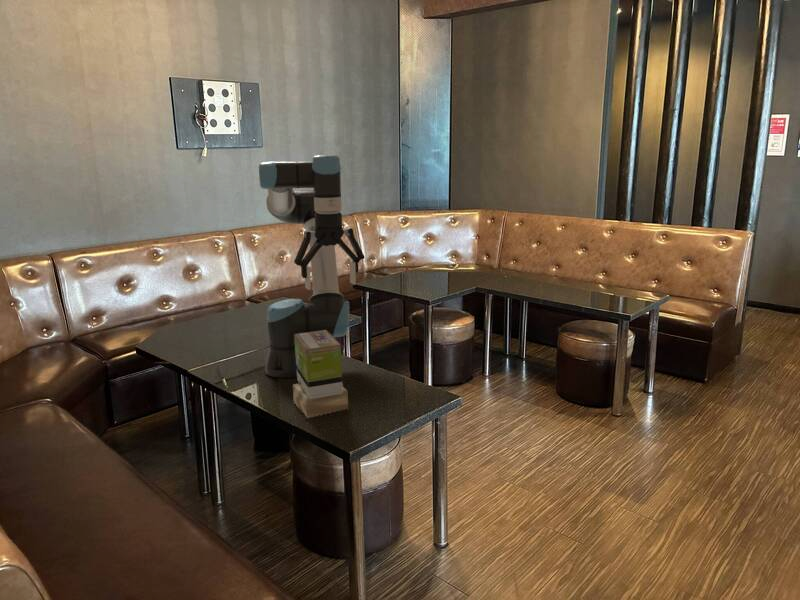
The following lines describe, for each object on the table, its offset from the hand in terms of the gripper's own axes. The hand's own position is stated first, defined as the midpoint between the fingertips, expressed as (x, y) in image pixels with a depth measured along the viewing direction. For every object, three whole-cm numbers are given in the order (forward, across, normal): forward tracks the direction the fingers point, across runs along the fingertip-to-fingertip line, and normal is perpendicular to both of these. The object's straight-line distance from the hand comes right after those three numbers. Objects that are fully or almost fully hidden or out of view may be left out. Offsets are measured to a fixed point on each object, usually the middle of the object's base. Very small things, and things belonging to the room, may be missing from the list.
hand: (330, 286), depth 173 cm
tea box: (+27, -7, -8) cm, 29 cm away
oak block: (+33, -7, -8) cm, 35 cm away
